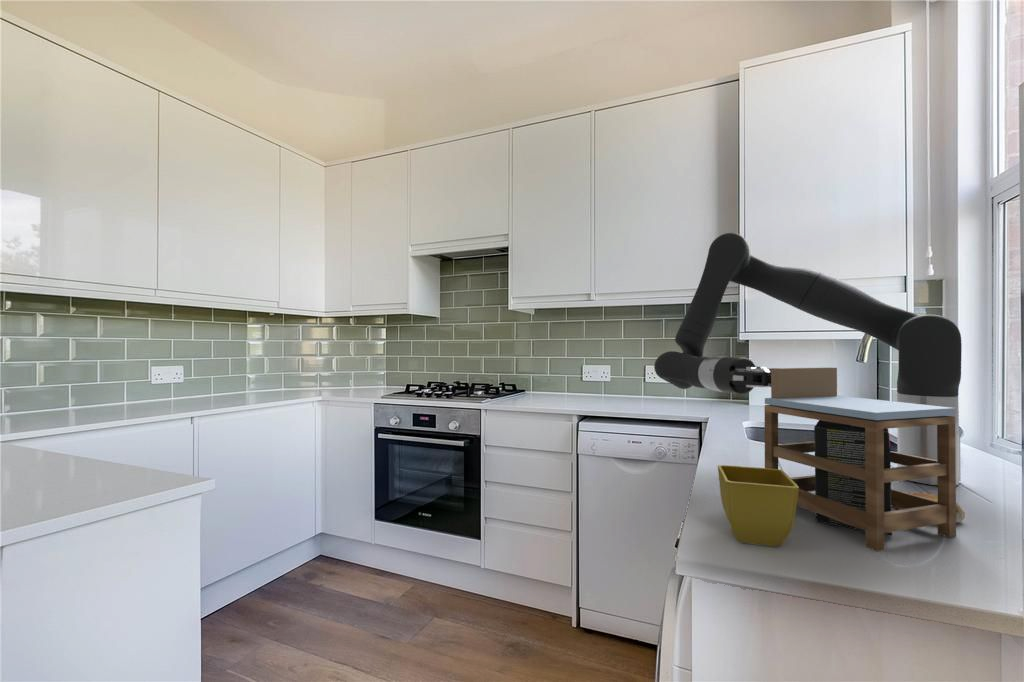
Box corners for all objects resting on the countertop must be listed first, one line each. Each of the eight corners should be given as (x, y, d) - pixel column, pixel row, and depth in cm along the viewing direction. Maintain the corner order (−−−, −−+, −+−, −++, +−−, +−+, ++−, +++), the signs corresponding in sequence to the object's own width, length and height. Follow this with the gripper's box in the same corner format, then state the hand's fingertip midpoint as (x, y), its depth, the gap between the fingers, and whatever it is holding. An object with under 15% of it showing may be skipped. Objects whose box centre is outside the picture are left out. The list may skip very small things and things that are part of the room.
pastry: (877, 505, 79) (877, 482, 79) (915, 504, 79) (915, 482, 79) (930, 526, 69) (929, 501, 69) (972, 526, 70) (972, 501, 70)
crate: (834, 497, 82) (833, 401, 82) (956, 536, 65) (955, 416, 65) (764, 506, 77) (764, 405, 78) (876, 551, 60) (876, 421, 61)
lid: (834, 400, 82) (833, 367, 82) (955, 415, 65) (955, 372, 65) (764, 403, 78) (764, 368, 78) (876, 420, 61) (876, 374, 61)
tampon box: (893, 538, 64) (892, 432, 64) (813, 522, 70) (813, 425, 70) (889, 515, 73) (888, 422, 73) (819, 502, 78) (818, 416, 79)
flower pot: (800, 557, 59) (800, 486, 59) (726, 548, 61) (725, 480, 61) (782, 530, 67) (781, 469, 67) (717, 523, 70) (717, 464, 70)
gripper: (700, 356, 95) (770, 359, 78) (751, 356, 98) (829, 358, 82) (700, 393, 94) (770, 403, 78) (751, 391, 98) (829, 400, 82)
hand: (800, 380), depth 80 cm, fingers closed
